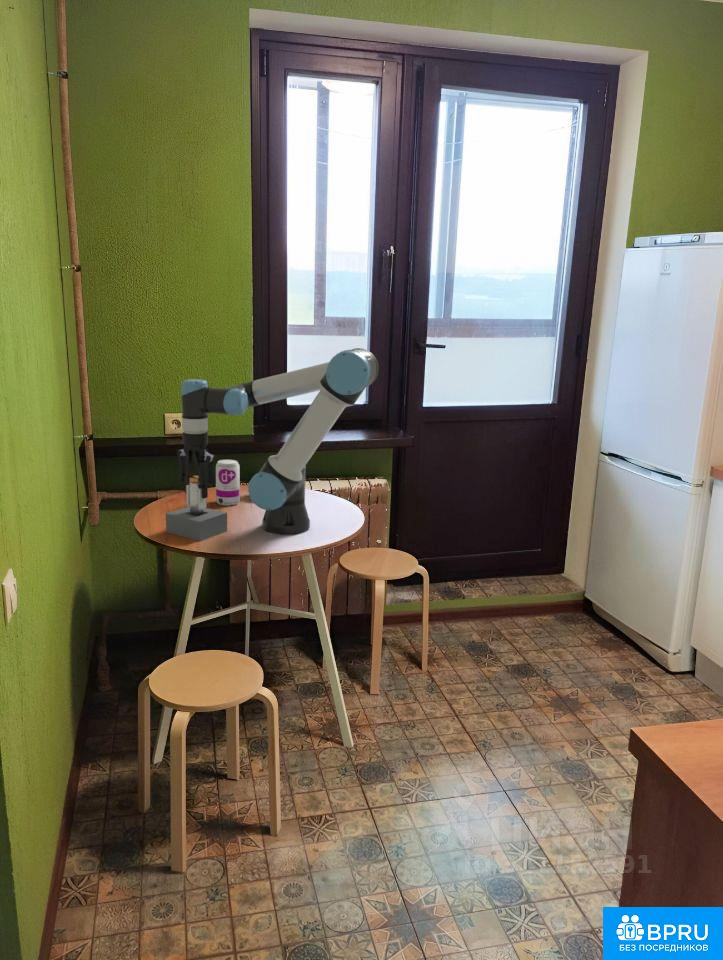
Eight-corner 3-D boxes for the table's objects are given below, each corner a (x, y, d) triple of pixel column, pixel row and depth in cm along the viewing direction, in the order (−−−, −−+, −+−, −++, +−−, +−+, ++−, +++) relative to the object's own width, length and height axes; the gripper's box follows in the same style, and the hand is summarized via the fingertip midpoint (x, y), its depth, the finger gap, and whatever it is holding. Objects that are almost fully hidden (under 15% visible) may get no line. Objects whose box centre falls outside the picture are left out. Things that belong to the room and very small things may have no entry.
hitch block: (227, 531, 230) (227, 512, 229) (200, 541, 220) (200, 521, 218) (193, 522, 237) (193, 505, 235) (166, 532, 227) (165, 513, 225)
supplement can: (237, 506, 257) (237, 464, 253) (213, 505, 257) (213, 463, 253) (241, 500, 265) (241, 459, 261) (218, 499, 265) (218, 458, 261)
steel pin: (206, 520, 228) (205, 476, 225) (197, 523, 225) (196, 479, 222) (196, 518, 230) (195, 474, 227) (187, 521, 227) (186, 477, 224)
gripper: (225, 433, 220) (226, 508, 225) (183, 426, 228) (184, 499, 234) (208, 436, 213) (209, 514, 219) (165, 429, 222) (167, 504, 228)
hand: (196, 506), depth 226 cm, fingers open, 4 cm apart
